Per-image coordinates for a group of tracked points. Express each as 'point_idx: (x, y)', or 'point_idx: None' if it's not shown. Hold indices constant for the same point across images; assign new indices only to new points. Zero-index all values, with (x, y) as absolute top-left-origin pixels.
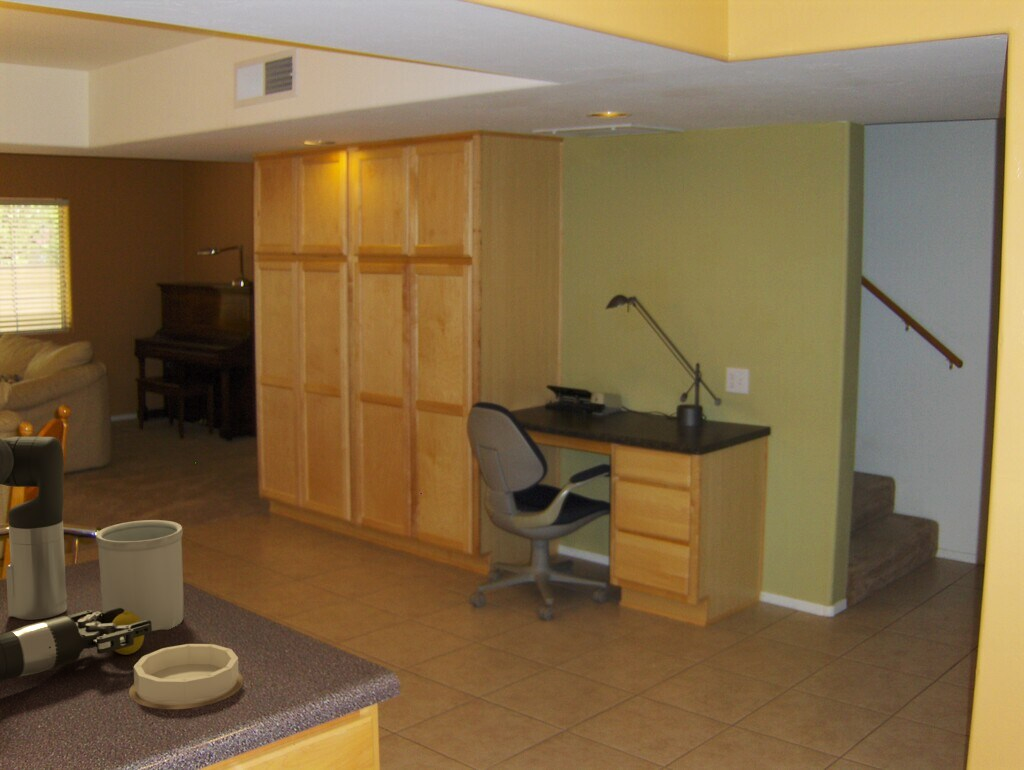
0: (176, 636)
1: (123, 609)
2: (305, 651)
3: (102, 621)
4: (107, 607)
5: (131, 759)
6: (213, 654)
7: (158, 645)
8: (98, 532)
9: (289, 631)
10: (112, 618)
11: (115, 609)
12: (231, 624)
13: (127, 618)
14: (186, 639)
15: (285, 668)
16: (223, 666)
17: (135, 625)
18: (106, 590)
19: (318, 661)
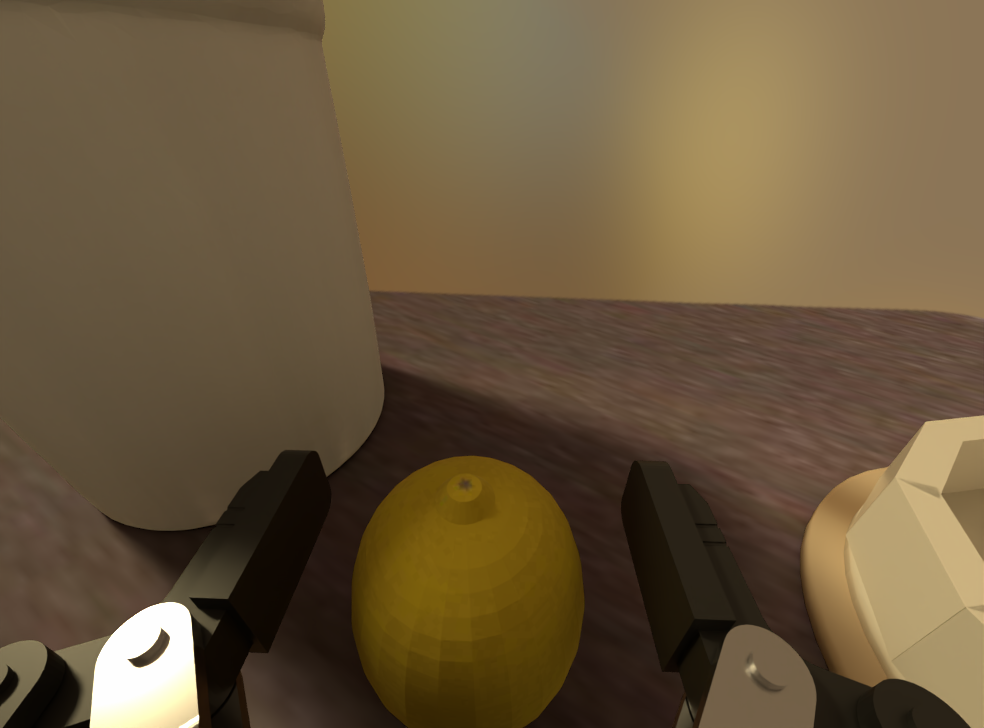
0: (443, 418)
1: (315, 452)
2: (763, 327)
3: (240, 648)
4: (88, 451)
5: None
6: (958, 462)
7: None
8: None
9: (619, 300)
10: (288, 555)
11: (271, 486)
12: (489, 326)
13: (532, 537)
14: (491, 414)
15: (883, 384)
16: (981, 484)
17: (709, 575)
18: (22, 371)
19: (846, 338)
